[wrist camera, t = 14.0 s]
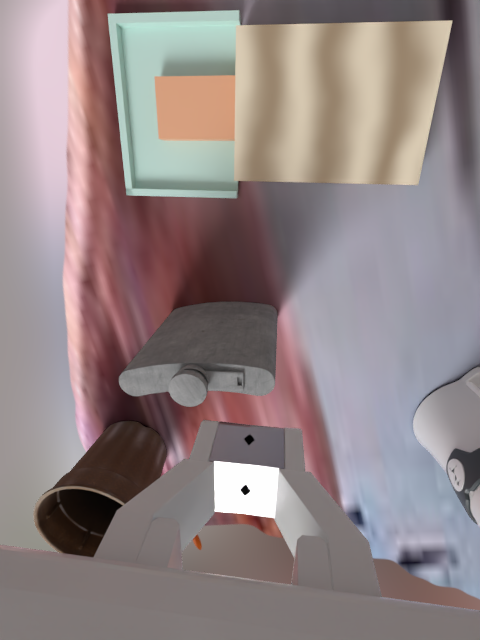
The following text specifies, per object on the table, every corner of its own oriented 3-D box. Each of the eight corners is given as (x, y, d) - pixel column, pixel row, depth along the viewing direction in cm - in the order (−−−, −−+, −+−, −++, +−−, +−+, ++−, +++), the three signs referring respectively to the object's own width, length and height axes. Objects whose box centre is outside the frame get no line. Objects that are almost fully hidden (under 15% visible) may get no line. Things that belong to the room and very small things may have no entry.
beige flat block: (434, 37, 35) (452, 20, 31) (405, 184, 40) (418, 184, 36) (240, 40, 37) (235, 25, 33) (238, 180, 42) (234, 180, 38)
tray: (241, 17, 36) (239, 10, 34) (238, 197, 43) (236, 198, 41) (114, 20, 37) (107, 13, 36) (131, 194, 44) (126, 195, 43)
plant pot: (147, 397, 57) (99, 474, 42) (195, 465, 62) (168, 555, 47) (75, 426, 61) (9, 505, 47) (125, 487, 66) (80, 577, 51)
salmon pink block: (238, 80, 38) (236, 75, 36) (238, 140, 40) (235, 139, 38) (160, 81, 39) (154, 76, 37) (164, 140, 41) (158, 138, 39)
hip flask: (172, 327, 51) (111, 411, 33) (167, 302, 50) (101, 376, 31) (277, 324, 49) (275, 412, 31) (276, 297, 47) (273, 373, 29)
